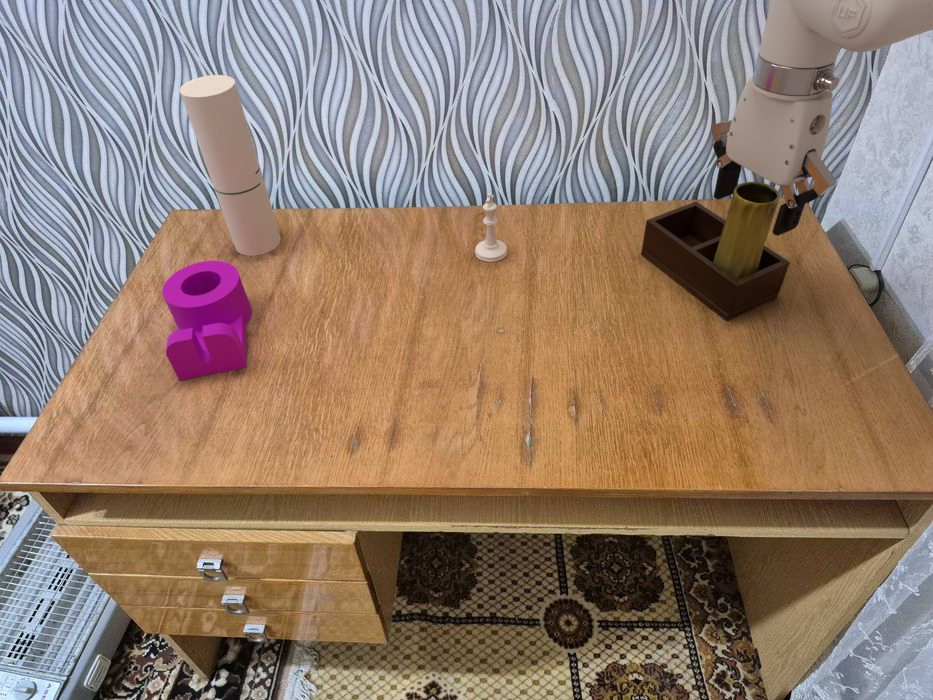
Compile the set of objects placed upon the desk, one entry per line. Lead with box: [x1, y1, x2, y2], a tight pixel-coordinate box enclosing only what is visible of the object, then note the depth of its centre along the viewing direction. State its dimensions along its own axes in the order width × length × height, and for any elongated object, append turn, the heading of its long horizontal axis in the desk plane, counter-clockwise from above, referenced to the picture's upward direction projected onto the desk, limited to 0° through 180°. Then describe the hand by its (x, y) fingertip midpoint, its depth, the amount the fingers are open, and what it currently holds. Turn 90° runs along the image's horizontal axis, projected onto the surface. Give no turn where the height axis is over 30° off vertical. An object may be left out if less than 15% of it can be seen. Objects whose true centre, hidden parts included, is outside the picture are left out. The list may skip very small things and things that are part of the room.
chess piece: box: [474, 192, 509, 263], centre depth 96 cm, size 5×5×10 cm
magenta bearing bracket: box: [161, 260, 253, 381], centre depth 88 cm, size 16×10×6 cm, turn 14°
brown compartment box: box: [640, 201, 791, 322], centre depth 91 cm, size 9×17×6 cm, turn 28°
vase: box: [713, 181, 781, 280], centre depth 85 cm, size 6×6×14 cm
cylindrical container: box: [179, 74, 282, 257], centre depth 96 cm, size 7×7×25 cm
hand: (752, 212), depth 82 cm, fingers open, 9 cm apart
